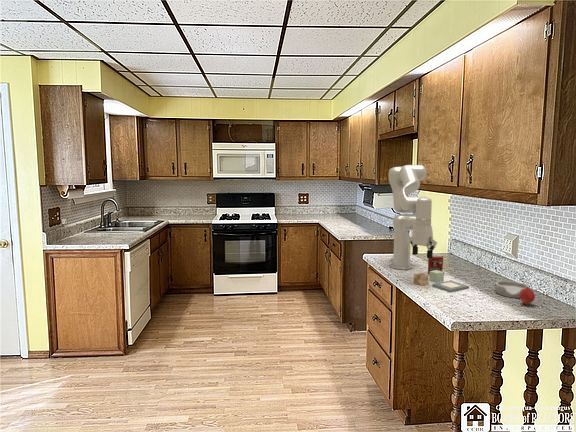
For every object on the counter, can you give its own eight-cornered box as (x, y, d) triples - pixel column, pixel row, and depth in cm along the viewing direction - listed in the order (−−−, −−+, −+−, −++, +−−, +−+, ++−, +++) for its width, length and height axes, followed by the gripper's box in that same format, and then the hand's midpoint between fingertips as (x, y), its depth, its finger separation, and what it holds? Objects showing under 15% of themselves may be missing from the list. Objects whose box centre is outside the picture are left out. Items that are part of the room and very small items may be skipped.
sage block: (429, 280, 209) (429, 271, 208) (436, 279, 211) (436, 269, 211) (436, 282, 205) (437, 273, 204) (443, 281, 207) (443, 272, 206)
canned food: (427, 274, 219) (427, 255, 218) (428, 271, 227) (429, 252, 225) (441, 276, 216) (442, 256, 215) (443, 272, 223) (443, 253, 222)
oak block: (413, 283, 204) (414, 273, 203) (420, 282, 206) (421, 272, 206) (421, 285, 200) (421, 276, 199) (428, 284, 202) (428, 274, 201)
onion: (516, 301, 175) (517, 284, 174) (529, 302, 174) (531, 284, 173) (522, 306, 169) (523, 288, 168) (536, 306, 169) (538, 288, 168)
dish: (534, 300, 178) (535, 289, 177) (501, 298, 180) (501, 287, 180) (521, 290, 192) (521, 280, 191) (490, 288, 194) (491, 279, 194)
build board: (432, 286, 198) (432, 283, 198) (450, 282, 204) (450, 280, 204) (450, 292, 189) (450, 289, 188) (468, 288, 195) (468, 285, 194)
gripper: (405, 221, 205) (404, 253, 207) (431, 225, 190) (430, 260, 191) (415, 220, 208) (415, 252, 210) (442, 224, 193) (441, 258, 195)
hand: (422, 256), depth 201 cm, fingers open, 9 cm apart
